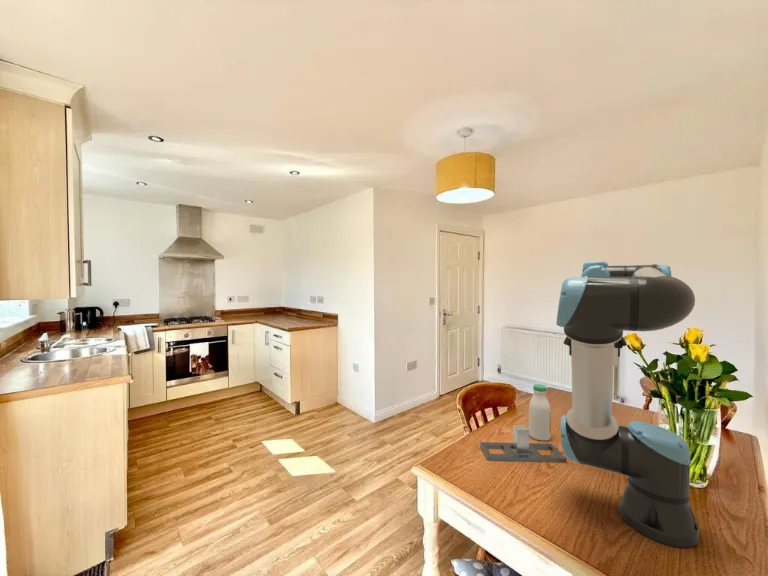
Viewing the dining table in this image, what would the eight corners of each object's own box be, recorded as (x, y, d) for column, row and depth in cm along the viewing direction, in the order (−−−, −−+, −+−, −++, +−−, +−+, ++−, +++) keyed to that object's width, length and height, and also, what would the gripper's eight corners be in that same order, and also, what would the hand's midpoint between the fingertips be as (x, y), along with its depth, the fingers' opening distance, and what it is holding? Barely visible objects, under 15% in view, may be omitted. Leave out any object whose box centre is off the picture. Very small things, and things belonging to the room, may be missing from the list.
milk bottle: (548, 443, 120) (548, 390, 119) (526, 437, 124) (526, 386, 124) (552, 435, 126) (552, 385, 126) (531, 430, 130) (531, 381, 130)
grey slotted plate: (566, 462, 107) (566, 458, 107) (487, 460, 108) (487, 456, 108) (551, 446, 117) (551, 443, 117) (480, 445, 118) (480, 442, 118)
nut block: (528, 456, 111) (529, 430, 111) (517, 455, 111) (517, 430, 111) (524, 450, 115) (524, 425, 115) (512, 449, 115) (513, 424, 115)
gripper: (623, 305, 116) (623, 363, 116) (553, 304, 117) (553, 362, 117) (639, 306, 109) (638, 368, 109) (564, 306, 110) (563, 368, 110)
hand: (594, 365), depth 113 cm, fingers open, 13 cm apart
